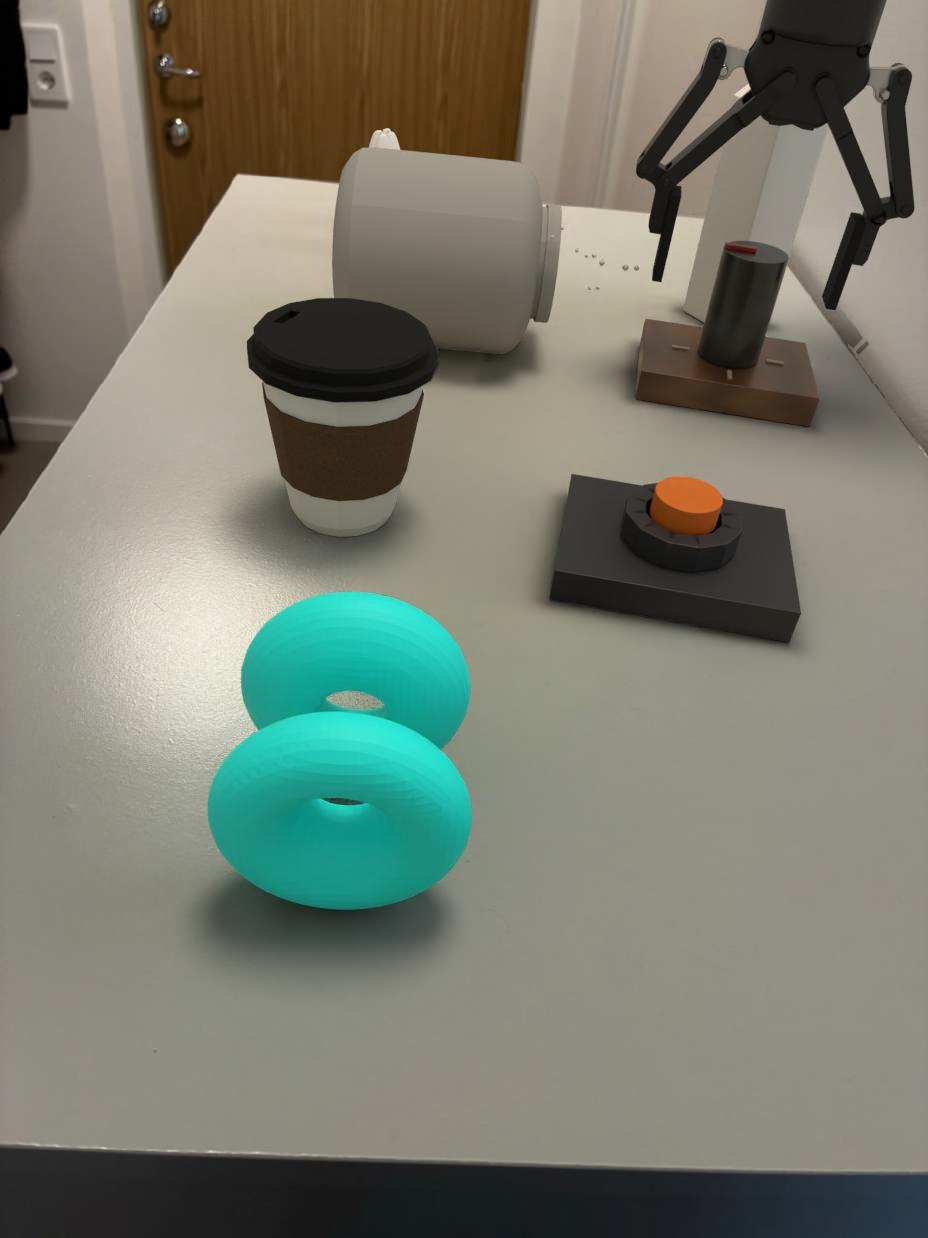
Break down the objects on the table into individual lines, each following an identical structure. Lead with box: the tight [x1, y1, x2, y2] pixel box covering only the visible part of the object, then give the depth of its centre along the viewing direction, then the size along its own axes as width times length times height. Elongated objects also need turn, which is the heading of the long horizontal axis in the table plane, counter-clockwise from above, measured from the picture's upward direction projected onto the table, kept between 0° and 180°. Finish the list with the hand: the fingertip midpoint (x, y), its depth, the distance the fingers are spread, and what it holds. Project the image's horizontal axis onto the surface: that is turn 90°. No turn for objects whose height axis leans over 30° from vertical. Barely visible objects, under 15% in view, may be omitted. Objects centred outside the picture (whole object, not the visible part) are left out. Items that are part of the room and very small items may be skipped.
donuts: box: [207, 590, 473, 911], centre depth 39 cm, size 10×10×10 cm
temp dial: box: [698, 241, 790, 368], centre depth 76 cm, size 5×5×9 cm
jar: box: [331, 147, 640, 355], centre depth 78 cm, size 19×15×25 cm
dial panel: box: [634, 318, 820, 427], centre depth 80 cm, size 14×11×3 cm
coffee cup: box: [246, 297, 440, 538], centre depth 57 cm, size 11×11×12 cm
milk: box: [682, 83, 829, 325], centre depth 85 cm, size 6×6×22 cm
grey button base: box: [549, 473, 802, 643], centre depth 58 cm, size 14×11×4 cm
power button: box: [650, 475, 724, 536], centre depth 56 cm, size 4×4×2 cm
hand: (742, 289), depth 75 cm, fingers open, 13 cm apart
